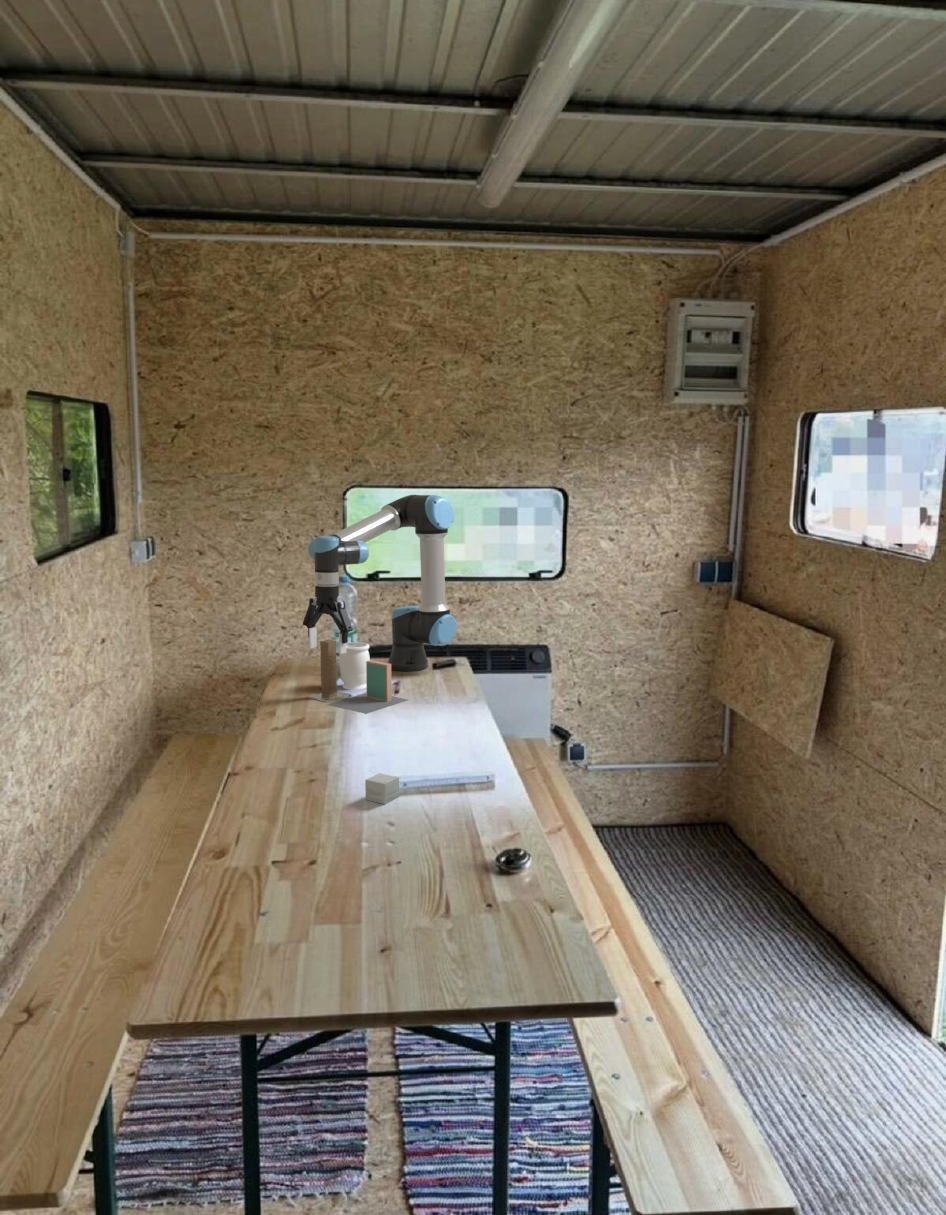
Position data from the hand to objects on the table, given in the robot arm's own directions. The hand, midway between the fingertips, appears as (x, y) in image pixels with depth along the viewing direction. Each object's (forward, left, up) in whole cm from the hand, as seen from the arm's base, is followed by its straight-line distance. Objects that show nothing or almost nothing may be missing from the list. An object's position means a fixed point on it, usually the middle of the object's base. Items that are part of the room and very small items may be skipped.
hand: (327, 650), depth 279 cm
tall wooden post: (0, 0, -16) cm, 16 cm away
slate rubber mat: (-3, +15, -16) cm, 22 cm away
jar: (-15, -3, -16) cm, 22 cm away
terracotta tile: (-8, +15, -16) cm, 23 cm away
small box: (+54, +72, -16) cm, 91 cm away
